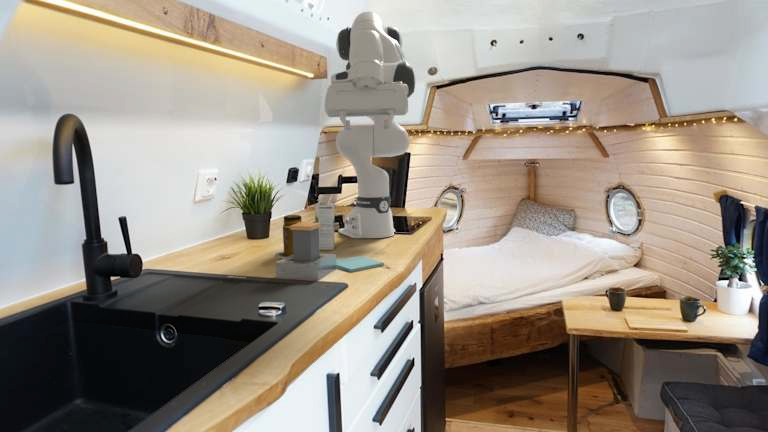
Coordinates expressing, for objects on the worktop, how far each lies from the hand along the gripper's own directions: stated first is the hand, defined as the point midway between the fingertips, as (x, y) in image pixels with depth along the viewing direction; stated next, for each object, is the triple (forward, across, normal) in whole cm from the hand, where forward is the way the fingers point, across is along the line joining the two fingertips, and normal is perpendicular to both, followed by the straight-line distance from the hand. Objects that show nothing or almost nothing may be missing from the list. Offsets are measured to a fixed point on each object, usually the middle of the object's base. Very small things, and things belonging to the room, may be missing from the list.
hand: (366, 128), depth 121 cm
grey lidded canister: (+26, +17, -27) cm, 41 cm away
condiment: (+14, +25, -45) cm, 53 cm away
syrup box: (+9, +16, -52) cm, 55 cm away
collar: (+26, +17, -27) cm, 41 cm away
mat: (+22, +5, -33) cm, 40 cm away
